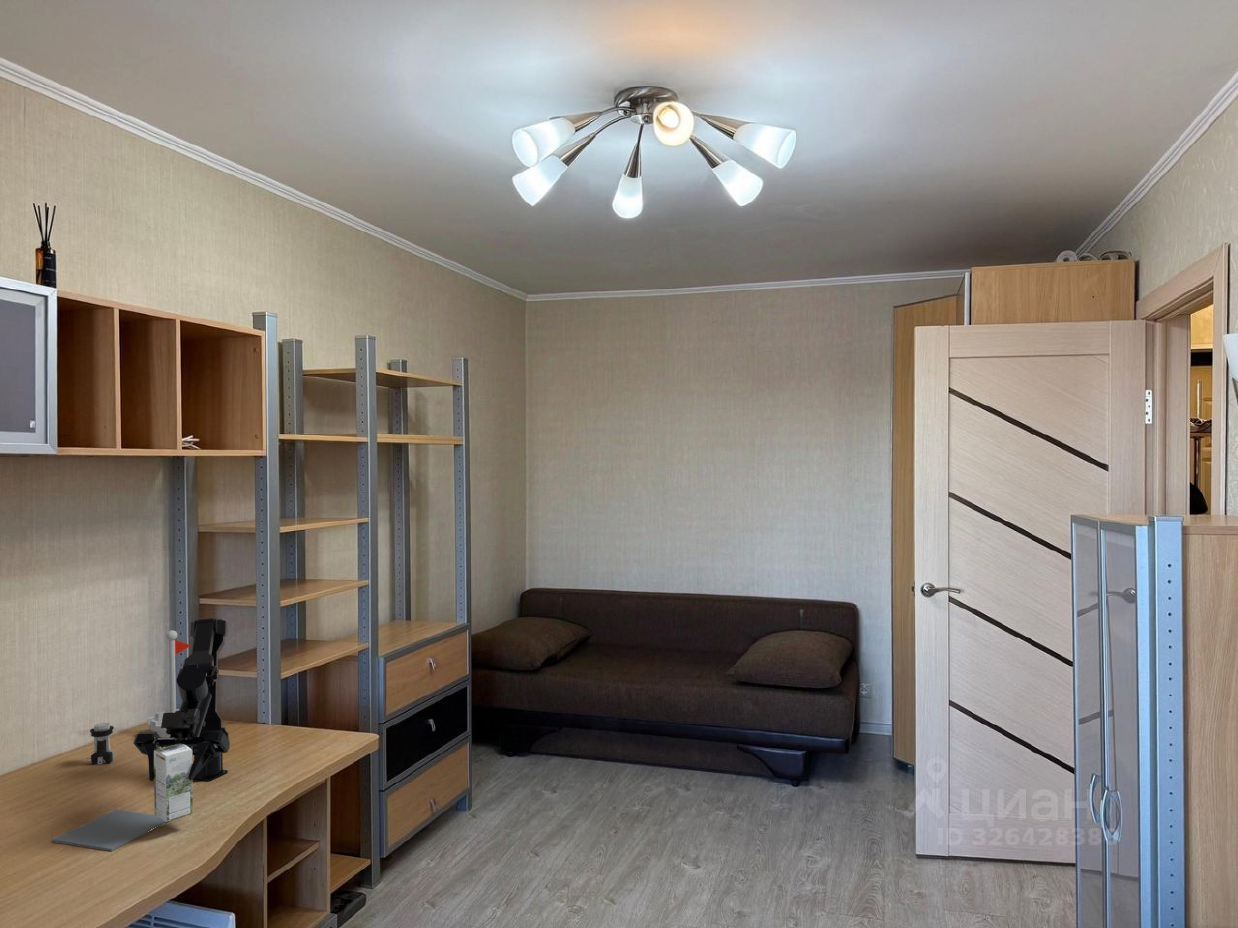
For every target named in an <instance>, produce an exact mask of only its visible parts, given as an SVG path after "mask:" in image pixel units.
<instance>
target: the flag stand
mask: <svg viewBox="0 0 1238 928" xmlns="http://www.w3.org/2000/svg"><path fill="white" fill-rule="evenodd" d="M165 635H166V636H165V637H166V639H167V640H168V655H169V656H168V658H169V663H168V665H169V707H170V708H169V709H170V710H169V711H170V712H169V713H175V712H176V711H179V709H180V708H177V689H176V688H177V687H176V686H177V677H176V656H177V655H178V654H180V653H181V652H184V651H185V650H187V649H189V648H191V646H192V644H189V643H185V642H183V641H179V640H176V639H177V638H178V632H177V631H176V630H172V629H171V630H169V631H167V633H166V634H165ZM163 713H166V712H165V711H160V712H156V713H154V715H155V716H154V715H151V716H150V715H149V716H148V718H147V727H148V729H149V730H150V731H151V732H157V733H158V735H159V736H160V737H161V738H169V737H170V734H167V733H166V728H161V723H162V718H163Z"/></svg>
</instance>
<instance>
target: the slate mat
mask: <svg viewBox="0 0 1238 928" xmlns="http://www.w3.org/2000/svg"><path fill="white" fill-rule="evenodd" d="M164 823H166V821H164V820H162V819H160V818H158V817H157V816H155V814H151V813H150V814H149V813H142V812H136V811H129V810H122V809H114V810H112V811H110V812H108V813H106V814H103V815H102V816H100V817H97V818H95V819H92V820H91V821H89V822H86V823H84V824H82V825H80V826H78V827H75V828H73V829H72V830H69V831H66V832H65V833H63V834H60V835H59V836H56V837H54V838H52V839H51V843H57V844H64V845H68V846H76V847H82V848H88V849H89V848H90V849H94V848H95V849H96V850H102V851H108V852H113V851H116V850H117V849H119V848H121V847H123V846H125V845H127V844H129V843H131V842H133V841H134V839H135V840H136V838H137V839H139V838H140V837H142V836H144V835H146V834H148V833H149V832H148V831H150V830H151V829H153V828H155V827H157V826H160V825H162V824H164ZM166 824H167V823H166ZM164 825H165V824H164ZM162 826H163V825H162ZM160 827H161V826H160ZM147 832H148V833H147ZM150 832H151V831H150ZM145 833H146V834H145ZM138 837H139V838H138ZM132 840H133V841H132ZM130 841H131V842H130ZM128 842H129V843H128ZM126 843H127V844H126ZM124 844H125V845H124ZM122 845H123V846H122ZM120 846H121V847H120ZM118 847H119V848H118ZM95 849H94V850H95Z"/></svg>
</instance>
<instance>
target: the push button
mask: <svg viewBox="0 0 1238 928" xmlns="http://www.w3.org/2000/svg"><path fill="white" fill-rule="evenodd" d="M110 724H111V723H110V722H101V723H97V724H94V726H93V728H91V729H89V733H90V737H93V742H94V747H93V748H94V749H93V753H92V754H91V755H90V757H85V760H87V761H84V762H85V763H91V765H104V764H105V765H110V764H111V763H113V762H114V751H112V749H111V735H112V734H113V731H114V725H110Z"/></svg>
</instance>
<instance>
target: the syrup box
mask: <svg viewBox="0 0 1238 928" xmlns="http://www.w3.org/2000/svg"><path fill="white" fill-rule="evenodd" d="M192 764H193V755H192V749H191V748H189V747H188V746H186V745H184V744H176V745H172V746H168V747H163V748H161V749H157V750H154V780H153V782H154V783H153V784H154V785H153V787H154V791H153V793H154V794H153V795H154V797H153V798H154V815H155V816H157V817H158V818H160V819H162V820H164V821H166V822H168V821H169V822H171V821H174V820H177V819H180V818H183V817H186V816H189V815H193V813H194V812H193V811H194V809H193V808H194V807H193V806H194V804H193V803H194V802H193V800H194V797H193V789H194V788H193V785H194V784H193V779H192V780H189V779H188V778H189V773H190V770H191V767H192ZM169 822H168V823H169Z"/></svg>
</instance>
